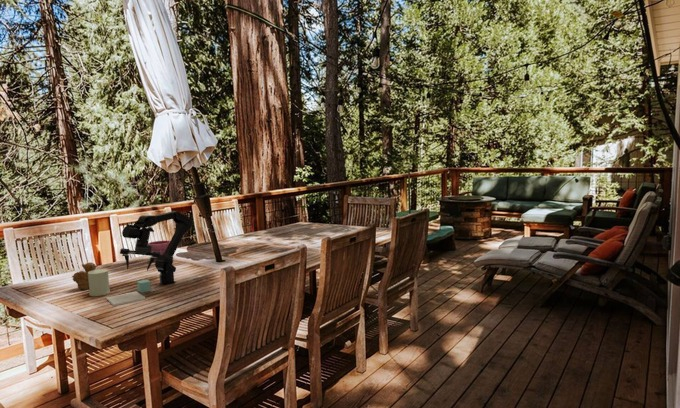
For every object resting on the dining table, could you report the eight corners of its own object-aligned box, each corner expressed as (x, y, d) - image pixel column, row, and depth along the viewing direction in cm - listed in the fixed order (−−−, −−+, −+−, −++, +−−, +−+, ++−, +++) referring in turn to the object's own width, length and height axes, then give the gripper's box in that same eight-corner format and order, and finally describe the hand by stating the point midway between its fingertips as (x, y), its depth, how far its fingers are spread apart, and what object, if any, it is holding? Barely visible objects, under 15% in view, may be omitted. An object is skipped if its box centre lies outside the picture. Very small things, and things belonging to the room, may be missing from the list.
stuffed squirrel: (106, 284, 231) (104, 261, 230) (85, 292, 218) (82, 267, 216) (92, 283, 234) (90, 260, 233) (69, 291, 220) (67, 266, 219)
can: (91, 291, 218) (89, 269, 217) (111, 289, 221) (109, 267, 220) (87, 297, 209) (85, 273, 208) (108, 294, 213) (106, 271, 211)
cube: (147, 288, 222) (147, 279, 221) (150, 290, 218) (150, 281, 218) (137, 290, 218) (137, 281, 218) (140, 293, 215) (140, 283, 214)
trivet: (136, 292, 215) (136, 291, 215) (145, 299, 204) (145, 297, 204) (106, 299, 206) (106, 297, 206) (113, 306, 195) (113, 304, 195)
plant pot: (150, 259, 290) (149, 241, 289) (172, 257, 295) (171, 239, 293) (147, 264, 277) (146, 244, 275) (170, 262, 281) (169, 243, 280)
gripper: (123, 237, 206) (117, 269, 204) (163, 242, 215) (158, 272, 213) (122, 237, 216) (117, 267, 214) (161, 241, 225) (156, 271, 223)
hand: (137, 269), depth 216 cm, fingers open, 9 cm apart
